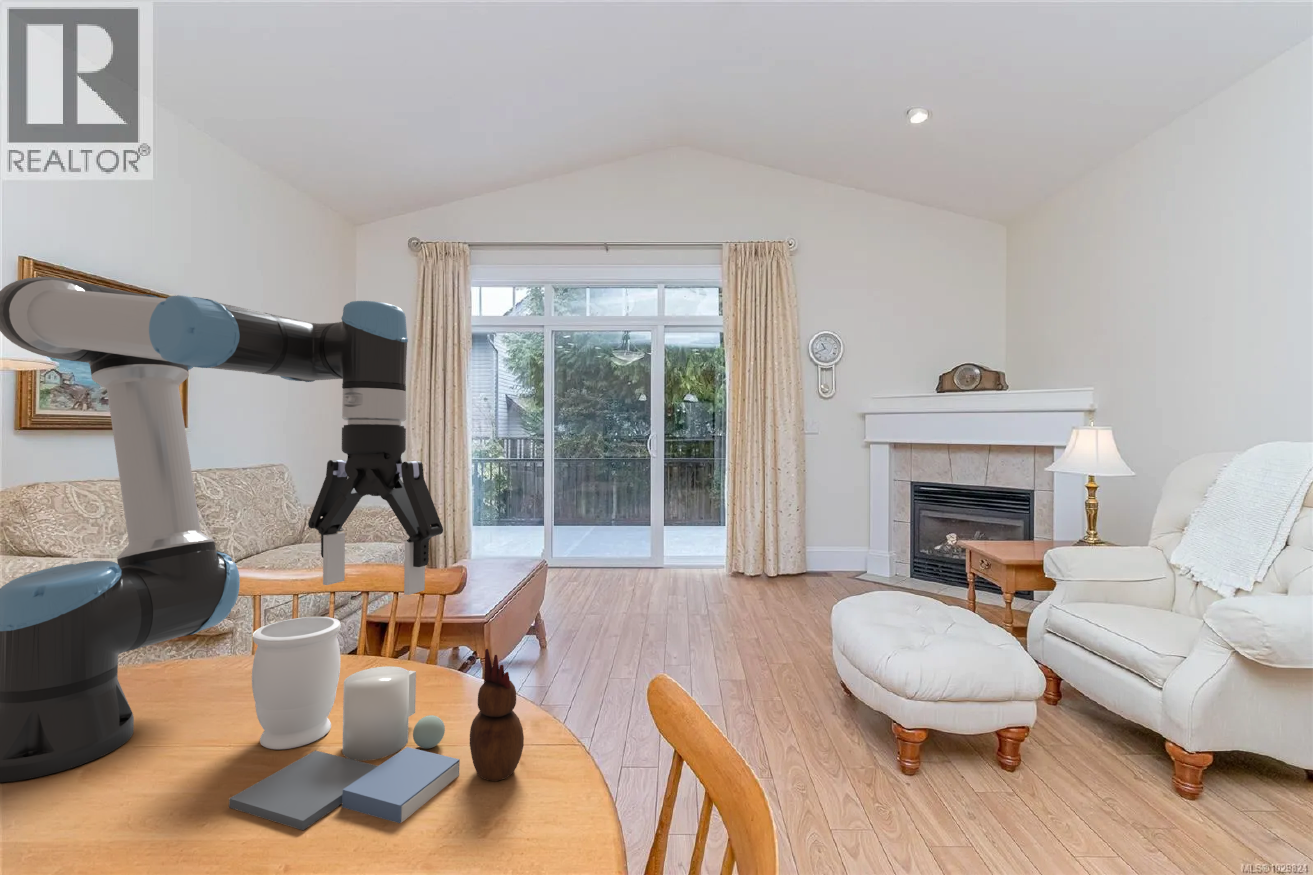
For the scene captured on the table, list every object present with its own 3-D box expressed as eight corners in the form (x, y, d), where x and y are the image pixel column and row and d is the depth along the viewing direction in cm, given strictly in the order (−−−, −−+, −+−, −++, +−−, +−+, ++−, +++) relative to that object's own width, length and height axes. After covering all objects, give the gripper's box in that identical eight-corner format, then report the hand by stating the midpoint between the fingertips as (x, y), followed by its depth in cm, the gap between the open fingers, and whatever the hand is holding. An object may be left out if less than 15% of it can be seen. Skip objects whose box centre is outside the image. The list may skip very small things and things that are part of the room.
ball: (405, 751, 79) (406, 720, 79) (426, 737, 82) (427, 708, 82) (430, 757, 77) (431, 726, 77) (450, 742, 81) (451, 712, 81)
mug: (328, 753, 78) (329, 684, 78) (389, 718, 88) (390, 656, 88) (376, 765, 75) (377, 694, 75) (434, 727, 85) (435, 664, 85)
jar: (298, 760, 76) (300, 642, 76) (230, 750, 78) (232, 635, 78) (355, 721, 86) (357, 618, 87) (294, 714, 89) (296, 613, 89)
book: (341, 811, 67) (342, 789, 67) (406, 765, 76) (407, 747, 76) (400, 828, 64) (400, 805, 64) (459, 779, 73) (460, 759, 73)
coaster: (228, 807, 66) (229, 798, 66) (315, 758, 77) (315, 750, 77) (302, 830, 62) (303, 820, 63) (383, 775, 73) (383, 767, 73)
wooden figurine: (462, 769, 75) (464, 649, 75) (505, 754, 78) (507, 639, 78) (485, 794, 69) (487, 665, 69) (529, 776, 73) (531, 654, 73)
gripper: (278, 423, 78) (277, 585, 78) (431, 421, 69) (429, 604, 69) (328, 424, 85) (326, 573, 85) (472, 423, 76) (471, 589, 76)
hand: (372, 587), depth 77 cm, fingers open, 13 cm apart
